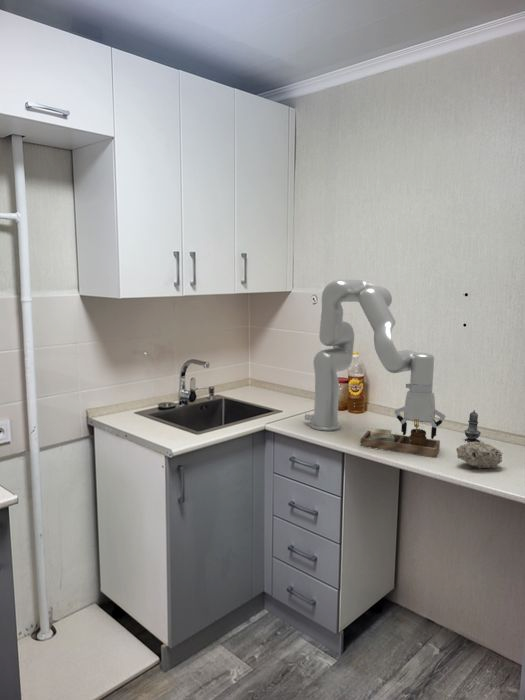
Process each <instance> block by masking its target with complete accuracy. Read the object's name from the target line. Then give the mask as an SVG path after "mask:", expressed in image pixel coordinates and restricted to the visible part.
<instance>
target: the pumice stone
mask: <svg viewBox="0 0 525 700" xmlns="http://www.w3.org/2000/svg"><path fill="white" fill-rule="evenodd" d="M456 454H457V456H456V457H457V458H458V459H460V460H462V461H463V462H465V463H467V464H469V465H470V466H472V467H475V468H479V469H481V468H482V469H491V468H493V469H494V468H496V467H498V465H499V464H501V463H502V462H503V452H502V451H501V450H500V449H498V448H496V447H495V446H493V445H491V444H489V443H484V442H480V441H479V442H471V443H464V444H461V445H459V447H456Z"/></svg>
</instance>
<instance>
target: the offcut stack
mask: <svg viewBox="0 0 525 700" xmlns="http://www.w3.org/2000/svg"><path fill="white" fill-rule="evenodd" d="M370 429H371V430H370V431H371V432H370V437H369V439H375V440H382V441H389V442H394V439H395V438H394V436H393V434H394V433H392V429H382V428H373V427H372V428H370Z"/></svg>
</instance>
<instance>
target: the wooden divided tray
mask: <svg viewBox="0 0 525 700" xmlns="http://www.w3.org/2000/svg"><path fill="white" fill-rule="evenodd" d="M370 432H371V430H367V431H366V432H365V433H364V434H363V436H362V437H361V438H360V447H361V446H364V447H363V448H368V447H371V448H370V449H375V448H377V450H381V449H383V450H382V451H388V450H390V451H389V452H395V451H396V452H397V453H401V454H409V455H410V454H411V455H417V456H423V457H429V458H437V456H438V453H439V451H440V446H441V439H439V440H438V439H434V438H433V439H432V438H427V442H426V447H424V446H417V445H410V444H409V437H410V435H403V434H396V433H392V434H393V436H394V438H395V439H394V442H389V441H382V440H375V439H369V437H370Z"/></svg>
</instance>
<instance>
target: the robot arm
mask: <svg viewBox="0 0 525 700" xmlns="http://www.w3.org/2000/svg"><path fill="white" fill-rule="evenodd" d="M392 301H393V296H392V293H391V292H390V291H389V290H388V289H387V288H386V287H383V286H380V285H377V284H373V283H370V282H367V281H363V280H360V279H336V280H333V281H330V282H329V283H328V284H327V285H326V286H325V287H324V288H323V290H322V293H321V314H320V323H319V334H318V335H319V336H318V337H319V341H320V343H321V344H322V345H323V346H326V347H332V348H327V349H326V348H325V349H322V350H320V351H318V352H317V353H315V354H314V355H315V356H314V358H313V370H314V371H313V372H314V380H315V381H314V408H313V414H308V413H305V414H304V419H305V420H307V421H310V423H309V426H310V428H312V429H314V430H317V431H326V432H327V431H328V432H331V431H338V430H340V429H341V428H342V423H340V422H338V420H339V418H338V417H339V395H340V382H339V378H338V375H337V372H342V371H345V370H347V369H349V367H351V364H352V361H353V354H354V346H355V345H354V344H355V332H354V329H353V326H352V325H351V323H349V322H347V321H344V320H343V319H344V309H343V306H342V303H343V302H348V303H350V302H351V303H352V302H354V303H355V302H357V303H359V305H360V307H361V309H362V311H363V313H364V315H365V317H366V318H367V321H368V322H369V324H370V326H371V329H372V331H373V343H374V350H375V353H376V354H377V357H378V359H379V361H380V363H381V365H382V366H383V368H384V369H385V370H386V371H387V372H389V373H391V374H398V373H399V374H400V373H403V372H409V371H410V377H409V378H410V380H409V383H406V384H405V388H406V389H408V391H406V396H405V399H404V400H405V401H404V406H402V407H399V408H397V409H395V410H394V414H395V417H396V419H397V420H398V421H399V422H400V425H401V432H402V435H404V436H406V434H407V426H408V424H407V423H408V422H407V421H411V422H414V419H415V422H416V419H417V422H418V420H419V422H420V423H430V425H431V426H432V427H431V432H430V433H431V434H430V439H433V440H434V438H435V437H436V436H437V427H439V426H441V424H443V422H444V420H445V419H446V417H447V416H446V414H444V413H442V412H441V411H439V410H437V409H436V398H435V397H436V396H435V393H434V392H433V386H434V385H433V384H434V383H433V382H434V367H435V366H434V364H435V357H434V355H433V354H431V353H428V352H427V353H426V352H416V351H414V350H409V349H404V350H402V349H401V350H397V348H396V346H395V344H394V341H393V339H392V330H393V328H394V326H395V325H396V318H395V317H394V316H393V314H392V312H391V310H390V308H389V307H390V306H391V304H392ZM402 412H403V416H402V415H401V413H402ZM436 416H438V417H439V419H438V420H437V421H436V419H435V417H436Z"/></svg>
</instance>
